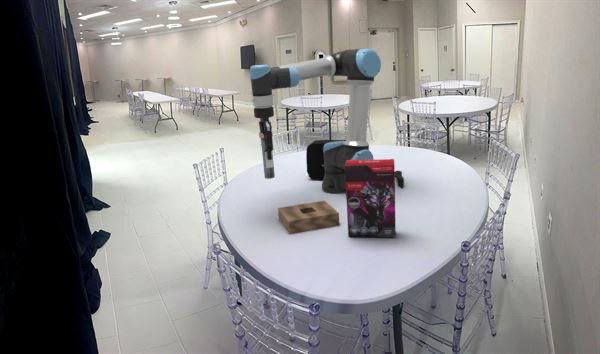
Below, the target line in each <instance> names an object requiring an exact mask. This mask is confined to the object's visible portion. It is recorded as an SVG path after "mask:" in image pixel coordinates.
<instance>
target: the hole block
mask: <svg viewBox="0 0 600 354" xmlns="http://www.w3.org/2000/svg"><path fill="white" fill-rule="evenodd" d="M277 212H278V221H280V223H281V224H282V226H283V228H285V230H286V232H287V233H288V234H289V235H292V234H296V233H297V234H298V233H302V232H308V231H313V230H319V229H325V228H329V227H330V228H331V227H336V226H340V212H339V211H337V210H336V209H335V208H334V207H333V206H331V204H330V203H329V202H327V201H326V200H318V201H314V202H312V201H311V202H307V203H301V204H300V203H299V204H295V205H287V206H282V207H277Z"/></svg>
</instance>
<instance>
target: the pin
mask: <svg viewBox="0 0 600 354" xmlns="http://www.w3.org/2000/svg"><path fill="white" fill-rule="evenodd" d="M273 136H274V135H273V133H272V137H273ZM258 137H259V139H260V143H261V144H262V146H261V153H262V163H263V164H262V165H263V174H264V175H263V176H264V179H267V180H270V179H274V178H275V174H276V173H275V166H274V162H273V166H274V167H271V168H266V157H265V152H264V150H265V142H264V134H262V132H260V131H259V133H258ZM261 144H260V145H261ZM273 153H274V152H273V151H272V155H273ZM273 156H274V155H273Z"/></svg>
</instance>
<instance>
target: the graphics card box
mask: <svg viewBox="0 0 600 354" xmlns="http://www.w3.org/2000/svg"><path fill="white" fill-rule="evenodd" d="M395 166H396V165H395V159H394V158H391V159H390V158H389V159H388V158H385V159H381V158H380V159H374V160H346V164H345V178H346V192H345V195H346V196H345V199H346V215H347V216H346V217H347V219H346V220H347V236H348V237H351V238H352V237H353V238H354V237H355V238H357V237H358V238H368V237H369V238H396V232H397V231H396V230H397V229H396V228H397V227H396V178H395V171H396V170H395V168H396V167H395Z"/></svg>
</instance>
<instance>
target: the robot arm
mask: <svg viewBox="0 0 600 354" xmlns="http://www.w3.org/2000/svg"><path fill="white" fill-rule="evenodd" d="M381 67H382V62H381V57H380V56H379V54H378V53H377V51H376V50H374V49H371V48H356V49H355V48H354V49H346V50H340V51H338V52H334V53H329V54H326V55H324V57H322V58H315V59H311V60H306V61H299V62H294V63H289V64H283V65H277V66H274V67H271V66H270V65H269V64H257V65H256V64H255V65H251V66H250V70H249V73H250V74H249V76H250V78H249V79H250V84H251V93H252V98H251V99H250V100H251V102H252V103H253V104H252V105H253V107H254V108H253V116H254V118H256V119H259V121H258V127H259V133H260V132H262V134H264V142H265V150H264V152H265V157H266V168H271V167H274V168H275V166H273V163H274V155H272V152H273V151H274V143H273V136H272V134H273V131H272V130H273V129H272V128H273V126H272V122H271V121H270V119H269V118H272V117H274V116H275V112H274V107H273V105H274V99H273V98H274V97H273V90H279V89H287V88H288V89H291V88H295V87H297V86H298V85H299V83H300V82H301V81H306V80H310V79H317V78H320V77H324V76H326V77H329V78H331V77H346V81H347V83H348V84H349V97H348V98H349V101H348V111H347V112H348V115H347V128H346V129H347V131H346V139H345V140H346V141H335V142H330V143H326V144H325V145H324V149H323V153H324V169H325V175H324V178H323V181H321V191H323V192H324V193H329V194H342V193H343V194H344V193H345V194H346V178H345V164H346V160H375V159H374V155H373V153H372V151H371V150H370V144H369V143H368V142H367V134H368V133H367V132H368V121H369V119H368V117H369V104H370V93H371V92H370V91H371V90H370V89H371V86H372V84H373V83H375V77H376V76H377V75H378V74H379V73H380V71H381ZM260 145H261V147H262V144H260Z"/></svg>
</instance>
